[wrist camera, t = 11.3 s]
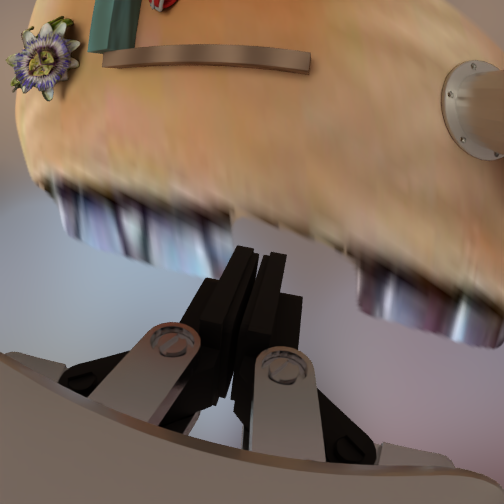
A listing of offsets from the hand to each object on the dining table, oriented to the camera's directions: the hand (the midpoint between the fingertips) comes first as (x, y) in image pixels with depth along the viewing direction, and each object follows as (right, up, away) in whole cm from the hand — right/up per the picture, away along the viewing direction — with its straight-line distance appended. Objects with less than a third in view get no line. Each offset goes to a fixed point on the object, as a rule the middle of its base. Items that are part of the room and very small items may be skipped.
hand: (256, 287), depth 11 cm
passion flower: (-29, +30, +22) cm, 47 cm away
